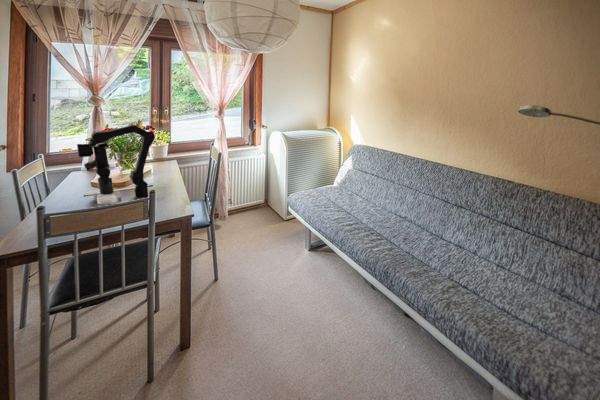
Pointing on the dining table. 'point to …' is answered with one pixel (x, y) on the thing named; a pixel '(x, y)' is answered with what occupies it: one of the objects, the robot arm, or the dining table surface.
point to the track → (107, 199)
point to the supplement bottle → (105, 186)
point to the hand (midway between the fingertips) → (105, 183)
